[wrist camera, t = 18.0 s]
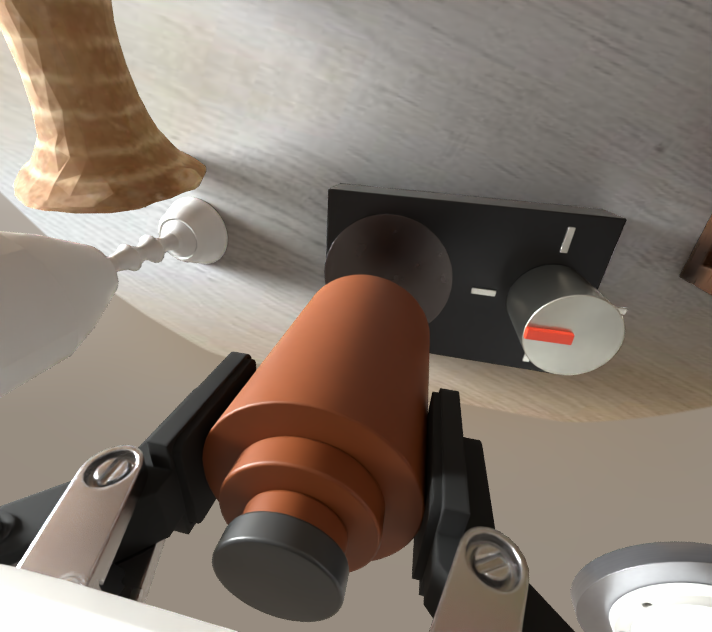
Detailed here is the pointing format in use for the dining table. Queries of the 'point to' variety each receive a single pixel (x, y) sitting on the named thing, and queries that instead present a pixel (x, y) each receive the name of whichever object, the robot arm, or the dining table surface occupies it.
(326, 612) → the bottle
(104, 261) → the chalice
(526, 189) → the dining table surface
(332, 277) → the burner
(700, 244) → the shelf
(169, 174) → the jug
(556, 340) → the stove knob
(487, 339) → the stove
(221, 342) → the dining table surface
